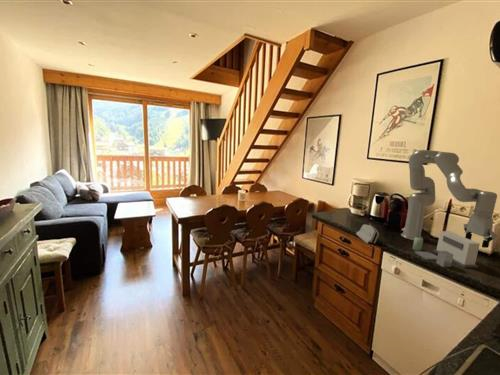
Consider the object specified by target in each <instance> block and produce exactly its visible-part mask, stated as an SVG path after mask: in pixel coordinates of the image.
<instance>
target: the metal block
mask: <svg viewBox="0 0 500 375" xmlns="http://www.w3.org/2000/svg"><path fill="white" fill-rule="evenodd" d="M437 256H438V257H437V260H435V263H436V264H437V265H439V266H441V267H442V268H451V267H452V265H453V264H452V263H453V262H452V259H453V254H451V253H449V252H447V251H439V252H438V254H437Z"/></svg>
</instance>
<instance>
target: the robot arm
mask: <svg viewBox="0 0 500 375" xmlns="http://www.w3.org/2000/svg"><path fill="white" fill-rule="evenodd" d="M459 161H460V158H459V156H458V154H456V153H454V152H450V151H449V152H447V151H438V150H427V149H420V150H419V149H418V150H416V151H415V152H412V153H411V155H410V156H409V158H408V167H409V168H408V169H409V184H410V188H411V190H413V191H418V192H413V193H411V194H410V195H409V196H408V199H407V200H408V201H407V202H408V204H407V205H408V207H407V208H408V209H407V213H406V220H405V225H404V227H403V228H401V231H403V232H402V233H400V236H401V237H403V238H404V239H407V240H410V241H414V238H415V237H418V238H422V239H423V240H424V238H423V236H421V235H422V230H423V229H422V228H423V225H424V224H423V223H424V219H425V209H424V207H431V206H433V205H434V204H435V203H436V183H435V181H434V179H433V178H431V177H429V176H426V173H425V172H426V169H425V167H424V165H423V164H432V165H433V164H434V165H436V166H437V167H438V168H439V170H440V171H441V173H442V174H443V176H444V177H445V178H446V185H447V188H448V190H449V192H450V193H451V194H452V196H453V197H454V199H455V200H457V201H458V202H460V203H461V202H462V203H474V202H475V205H474V209H472V213H471V214H470V216H469V218H468V221H467V223H463V229H464V231H465V232H464V233H465V238H467V239H470V240H472V236H473V234H475V235H477V236H481V237H483V240H482V244H481V247H482V248H485V249H487V248H489V246H490V242H492V241H493V240H495V239H496V238H497V236H498V235H497V234H496V233H495V232H494V231H493V226H494V220H493V214H494V211H495V207H496V203H497V198H498V194H497V193H495V192H492V191H485V190H480V189H478V188H466V185H464V184H463V182H462V180H461V175H463V173H464V172H463V169H462V168H461V167H460V165H459V164H458V163H459ZM419 191H420V192H419ZM472 233H473V234H472Z"/></svg>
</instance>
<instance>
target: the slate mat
mask: <svg viewBox="0 0 500 375" xmlns="http://www.w3.org/2000/svg"><path fill="white" fill-rule="evenodd" d="M414 254H416V255H418V256H420V257H421V258H423V259H424V260H426V261H437V257H438V255H436V254H434V253H432V252H431V251H422V250H421V251H416V250H414Z"/></svg>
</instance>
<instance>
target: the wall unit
mask: <svg viewBox="0 0 500 375" xmlns="http://www.w3.org/2000/svg"><path fill="white" fill-rule="evenodd" d="M437 241H438V242H437V245H436V249H435V248H434V249H433V250H432V251H433V252H434V253H436V254H437V255H438V252H439V251H447V252H449V253H451V254H453V259H452V263H454V264H456V265H458V266H459V267H462V268H465V269H479V265H478V264H476V261H477V258H478V252H479V248H480V244H481V243H479V242H476V241H474V240H472V239H471V240H470V239H467V238H465V237H464V236H462V235H459V234H457V233H455V232H453V231H449V230H446V231H445V230H444V231H443V230H440V232H439V237H438V240H437Z"/></svg>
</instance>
